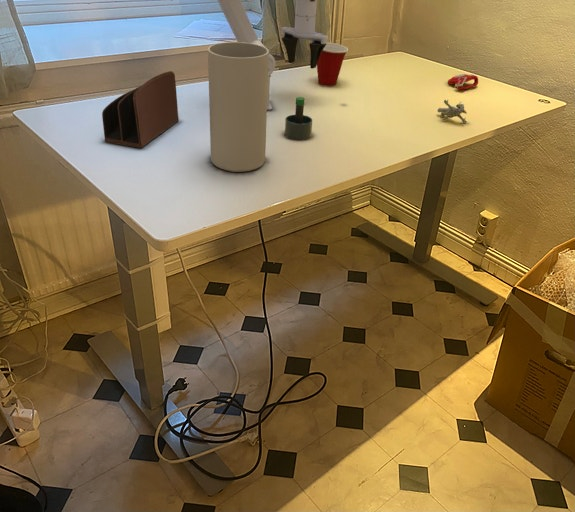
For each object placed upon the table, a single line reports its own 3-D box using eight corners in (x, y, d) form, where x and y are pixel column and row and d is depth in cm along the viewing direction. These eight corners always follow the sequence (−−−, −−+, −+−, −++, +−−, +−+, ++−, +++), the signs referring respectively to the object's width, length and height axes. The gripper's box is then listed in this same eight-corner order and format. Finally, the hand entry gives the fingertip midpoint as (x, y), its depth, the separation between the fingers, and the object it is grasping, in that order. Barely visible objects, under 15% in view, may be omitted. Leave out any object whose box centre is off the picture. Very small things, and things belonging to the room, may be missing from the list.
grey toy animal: (456, 114, 163) (477, 114, 154) (445, 131, 162) (466, 131, 154) (435, 92, 158) (455, 91, 150) (423, 110, 158) (443, 109, 150)
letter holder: (179, 121, 147) (176, 67, 139) (141, 149, 131) (135, 90, 123) (145, 115, 149) (140, 61, 141) (104, 142, 133) (96, 83, 125)
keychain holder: (442, 77, 188) (470, 70, 188) (443, 90, 190) (471, 83, 190) (456, 79, 177) (486, 72, 177) (458, 93, 179) (487, 86, 179)
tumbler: (287, 140, 140) (288, 124, 137) (282, 130, 145) (283, 114, 143) (313, 139, 141) (314, 124, 139) (308, 129, 146) (309, 114, 144)
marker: (294, 134, 142) (296, 99, 137) (293, 131, 143) (295, 96, 138) (303, 134, 142) (305, 99, 137) (301, 130, 144) (303, 96, 139)
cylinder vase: (237, 145, 135) (237, 39, 121) (276, 161, 129) (281, 51, 115) (199, 160, 127) (195, 48, 113) (238, 178, 121) (239, 61, 107)
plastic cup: (345, 89, 176) (350, 50, 169) (311, 87, 175) (314, 48, 169) (343, 79, 185) (347, 42, 178) (311, 77, 184) (313, 40, 178)
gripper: (335, 17, 153) (330, 67, 161) (292, 8, 159) (289, 57, 167) (321, 21, 148) (317, 72, 156) (278, 12, 155) (276, 61, 162)
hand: (302, 64), depth 161 cm, fingers open, 7 cm apart
